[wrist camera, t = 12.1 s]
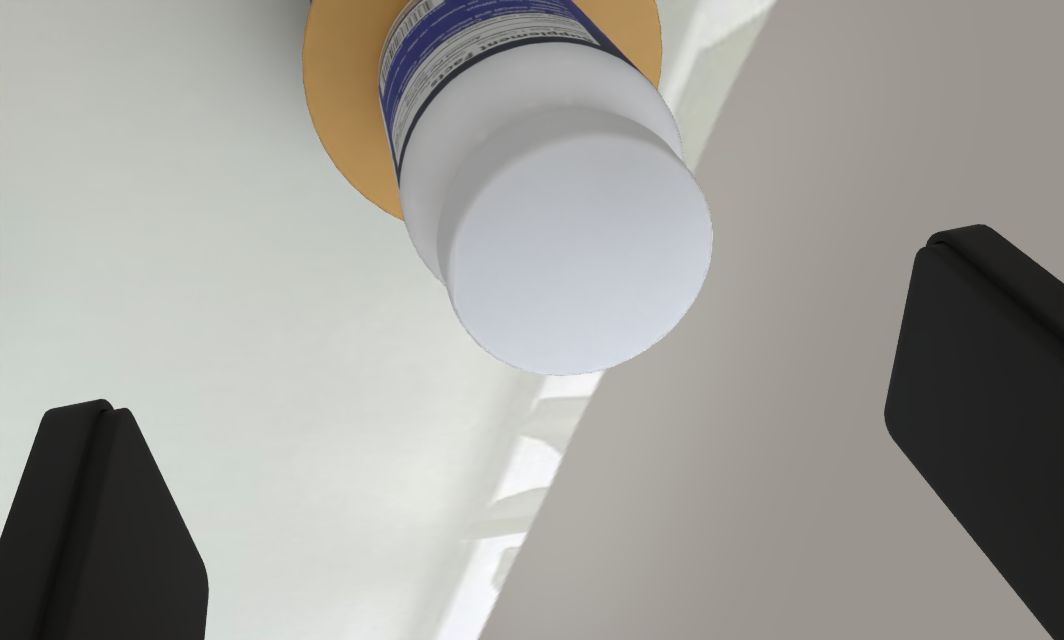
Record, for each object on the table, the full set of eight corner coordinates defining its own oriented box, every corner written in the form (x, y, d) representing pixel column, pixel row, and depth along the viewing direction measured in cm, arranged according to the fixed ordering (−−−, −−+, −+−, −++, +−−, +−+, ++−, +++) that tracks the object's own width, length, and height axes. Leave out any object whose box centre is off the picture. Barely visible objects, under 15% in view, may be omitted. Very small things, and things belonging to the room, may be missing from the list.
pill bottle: (602, 153, 25) (743, 363, 17) (402, 196, 24) (449, 434, 16) (582, -63, 22) (746, 71, 13) (350, -18, 21) (376, 149, 13)
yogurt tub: (270, -141, 26) (258, -96, 20) (584, -179, 27) (663, -147, 21) (338, 157, 31) (345, 262, 25) (596, 115, 32) (662, 206, 26)
